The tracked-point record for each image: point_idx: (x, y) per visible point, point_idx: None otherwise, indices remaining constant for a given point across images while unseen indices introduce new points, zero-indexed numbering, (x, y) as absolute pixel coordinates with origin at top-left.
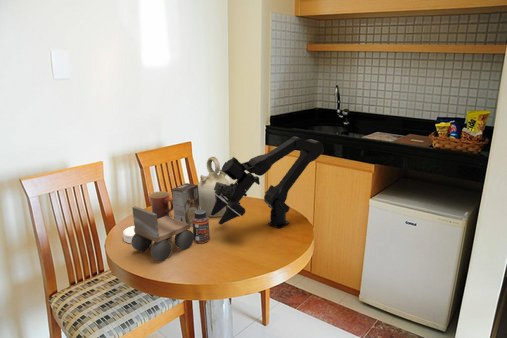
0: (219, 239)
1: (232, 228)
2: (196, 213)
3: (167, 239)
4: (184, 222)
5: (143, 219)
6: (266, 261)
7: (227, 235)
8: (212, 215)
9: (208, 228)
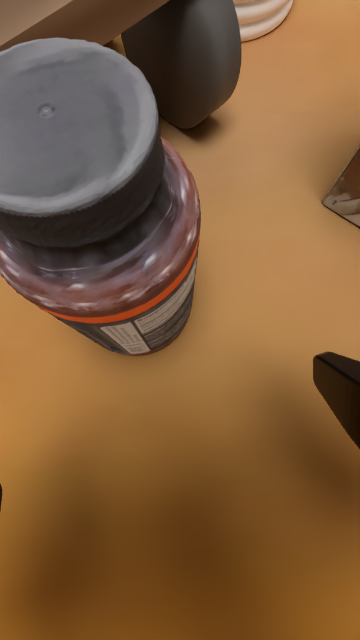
0: (121, 432)
1: (319, 562)
2: None
3: (166, 113)
4: (3, 45)
5: None
6: None
7: (182, 504)
8: (313, 376)
9: (88, 335)
